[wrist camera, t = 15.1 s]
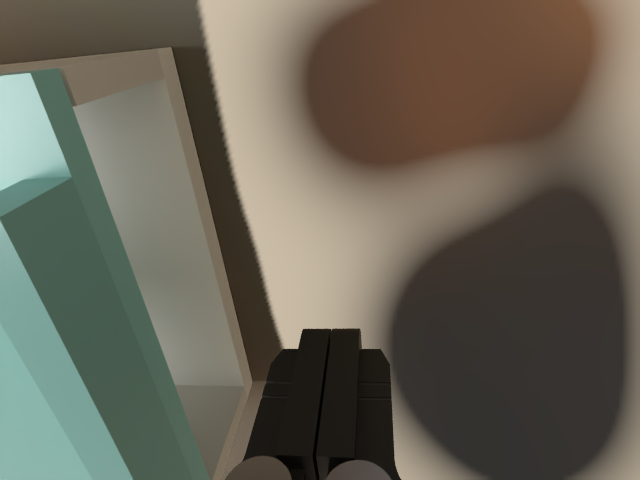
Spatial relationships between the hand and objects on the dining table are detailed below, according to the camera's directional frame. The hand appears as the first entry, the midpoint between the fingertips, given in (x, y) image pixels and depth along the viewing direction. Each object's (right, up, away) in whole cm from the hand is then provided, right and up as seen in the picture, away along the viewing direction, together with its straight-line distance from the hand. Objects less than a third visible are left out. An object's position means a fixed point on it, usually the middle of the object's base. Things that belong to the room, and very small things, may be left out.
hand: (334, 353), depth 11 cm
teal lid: (-9, 0, +2) cm, 9 cm away
